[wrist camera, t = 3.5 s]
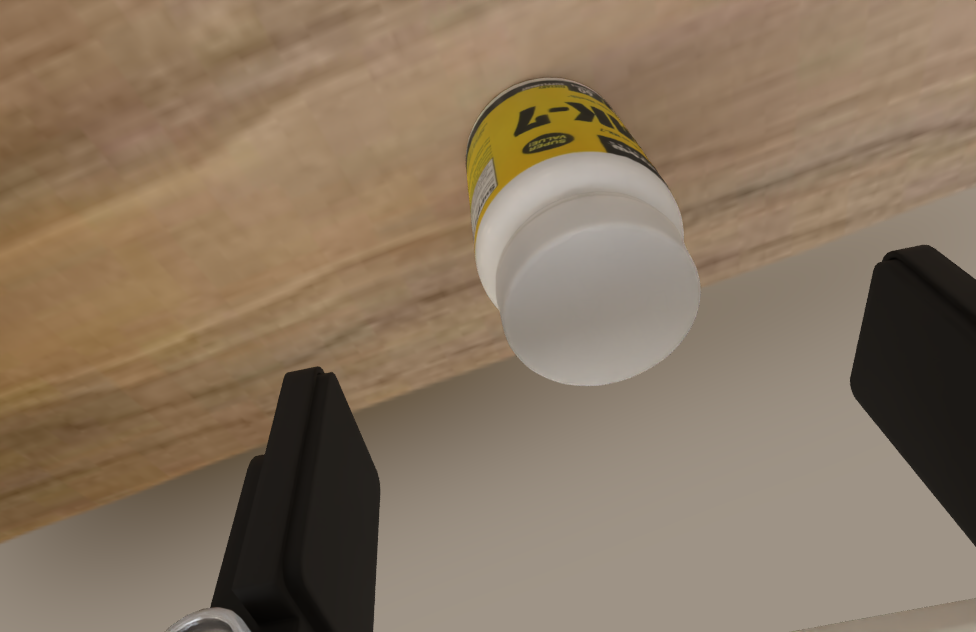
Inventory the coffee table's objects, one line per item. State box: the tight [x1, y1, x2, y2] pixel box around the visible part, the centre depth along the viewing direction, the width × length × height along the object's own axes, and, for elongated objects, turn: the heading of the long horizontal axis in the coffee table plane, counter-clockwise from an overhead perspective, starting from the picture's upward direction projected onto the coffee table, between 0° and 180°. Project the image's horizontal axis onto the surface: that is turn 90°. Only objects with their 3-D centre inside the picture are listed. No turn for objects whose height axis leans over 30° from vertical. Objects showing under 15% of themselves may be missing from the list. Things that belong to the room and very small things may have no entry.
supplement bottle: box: [466, 78, 701, 386], centre depth 16 cm, size 5×5×8 cm
